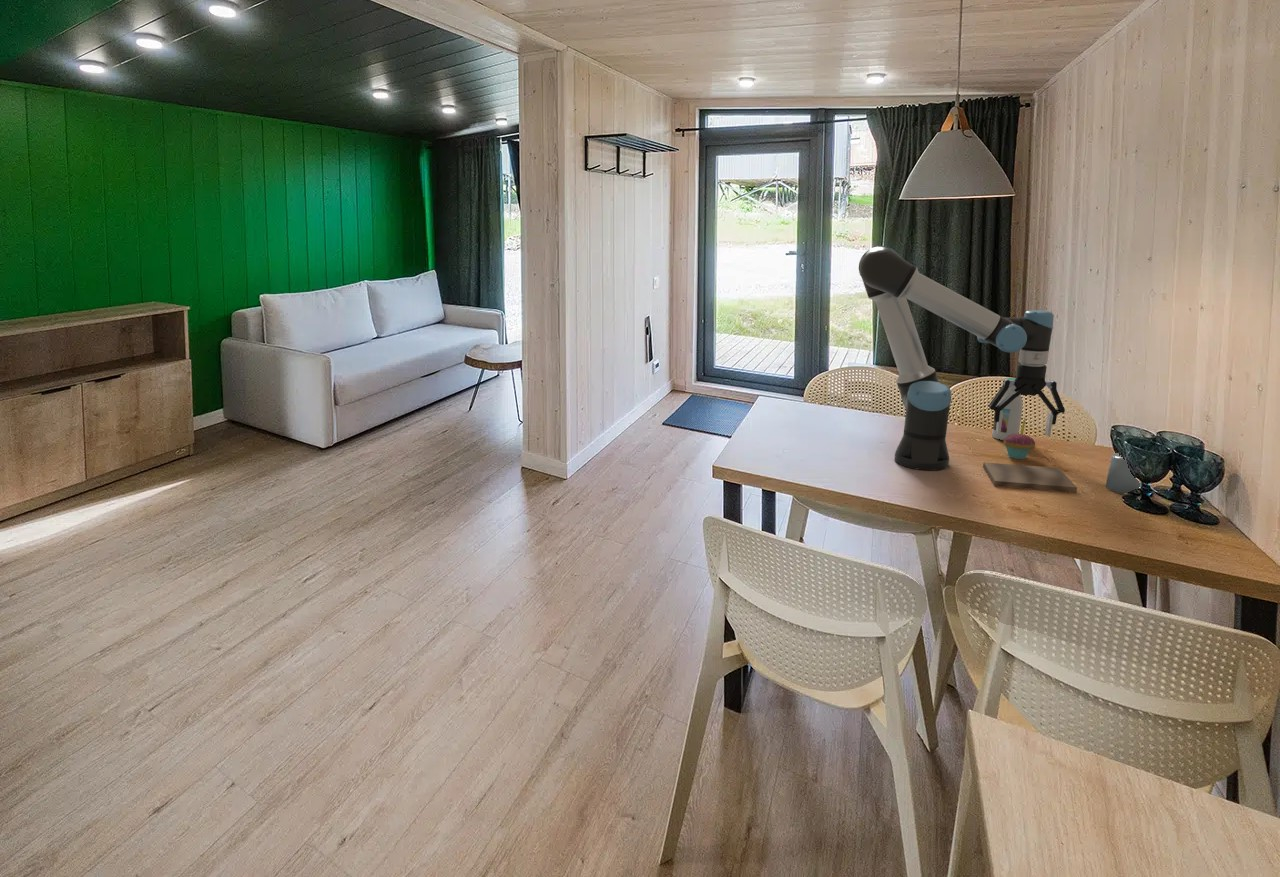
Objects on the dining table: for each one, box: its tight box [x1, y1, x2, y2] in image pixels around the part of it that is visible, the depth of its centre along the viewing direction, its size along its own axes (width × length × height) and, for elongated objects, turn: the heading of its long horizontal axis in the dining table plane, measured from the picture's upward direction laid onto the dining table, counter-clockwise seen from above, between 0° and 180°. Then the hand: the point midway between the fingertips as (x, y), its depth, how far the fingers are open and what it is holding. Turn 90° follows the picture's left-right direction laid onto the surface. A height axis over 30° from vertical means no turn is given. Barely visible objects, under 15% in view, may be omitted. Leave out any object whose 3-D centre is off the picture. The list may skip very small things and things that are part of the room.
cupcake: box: [1002, 417, 1036, 460], centre depth 218 cm, size 9×8×12 cm
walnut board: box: [982, 461, 1078, 494], centre depth 200 cm, size 20×16×2 cm
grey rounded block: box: [1105, 452, 1140, 495], centre depth 192 cm, size 8×8×9 cm
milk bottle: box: [991, 377, 1024, 441], centre depth 235 cm, size 8×8×20 cm
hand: (1022, 433), depth 217 cm, fingers open, 13 cm apart
